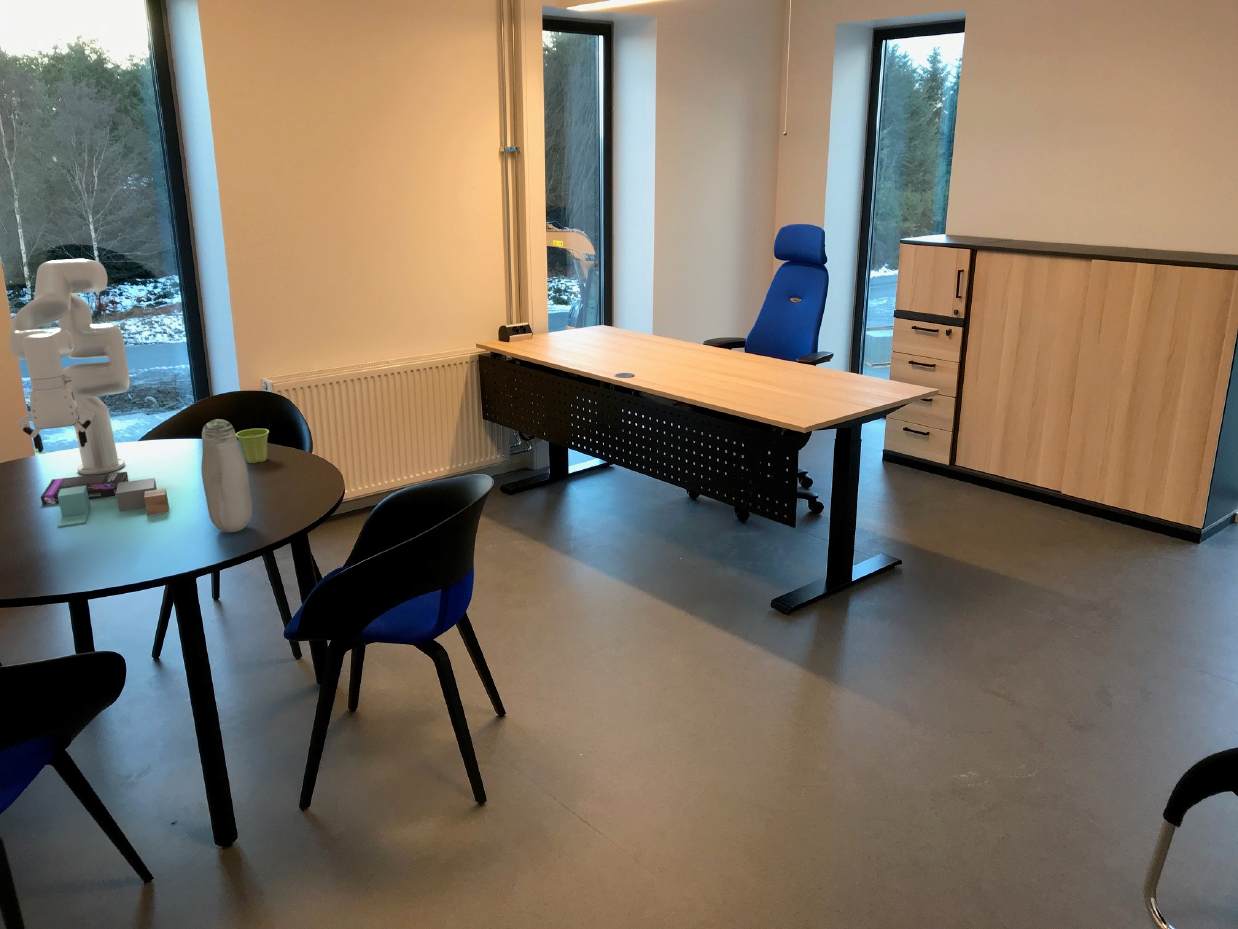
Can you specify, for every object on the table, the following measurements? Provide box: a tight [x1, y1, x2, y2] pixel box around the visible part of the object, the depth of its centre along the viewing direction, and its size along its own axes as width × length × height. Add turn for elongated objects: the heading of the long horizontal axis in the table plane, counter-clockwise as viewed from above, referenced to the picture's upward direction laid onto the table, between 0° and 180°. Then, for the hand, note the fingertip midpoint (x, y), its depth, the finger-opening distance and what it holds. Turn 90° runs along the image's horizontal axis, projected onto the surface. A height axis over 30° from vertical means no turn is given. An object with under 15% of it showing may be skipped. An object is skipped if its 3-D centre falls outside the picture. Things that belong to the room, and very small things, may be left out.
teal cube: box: [58, 486, 91, 518], centre depth 259 cm, size 6×6×6 cm
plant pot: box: [235, 428, 270, 464], centre depth 297 cm, size 9×9×9 cm
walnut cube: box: [144, 488, 170, 516], centre depth 259 cm, size 5×5×5 cm
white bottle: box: [200, 418, 253, 533], centre depth 241 cm, size 10×10×28 cm
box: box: [40, 471, 129, 506], centre depth 275 cm, size 14×4×20 cm
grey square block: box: [115, 477, 158, 512], centre depth 265 cm, size 9×9×5 cm
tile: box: [57, 514, 88, 528], centre depth 254 cm, size 6×6×1 cm
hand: (62, 448), depth 254 cm, fingers open, 9 cm apart
